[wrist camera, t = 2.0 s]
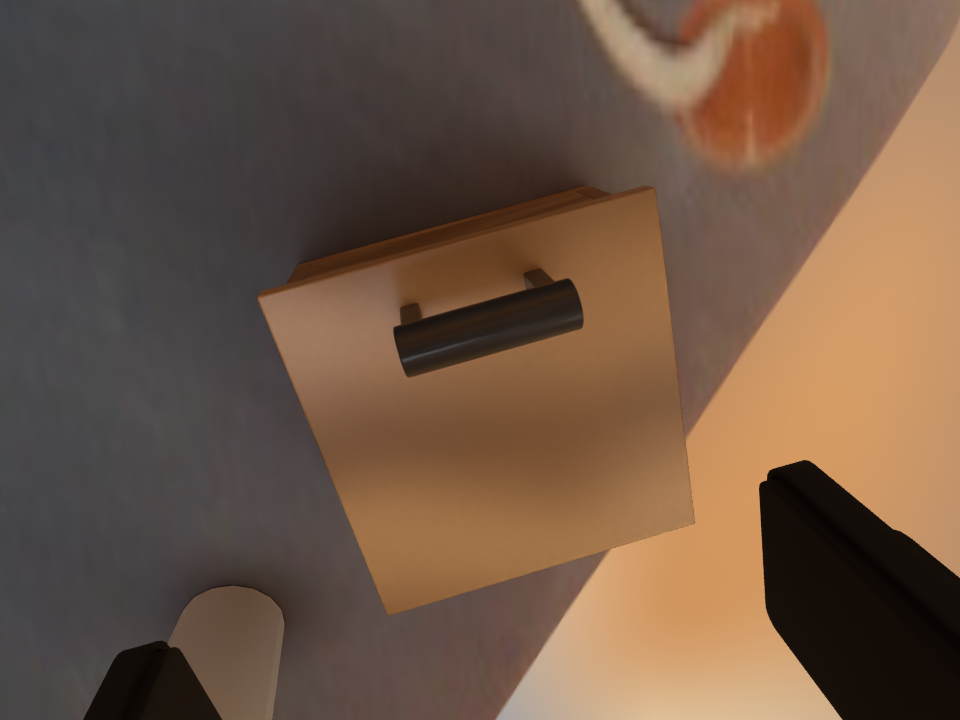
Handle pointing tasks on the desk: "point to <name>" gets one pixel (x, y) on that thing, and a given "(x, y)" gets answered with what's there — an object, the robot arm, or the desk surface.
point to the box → (445, 232)
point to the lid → (495, 397)
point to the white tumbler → (233, 649)
